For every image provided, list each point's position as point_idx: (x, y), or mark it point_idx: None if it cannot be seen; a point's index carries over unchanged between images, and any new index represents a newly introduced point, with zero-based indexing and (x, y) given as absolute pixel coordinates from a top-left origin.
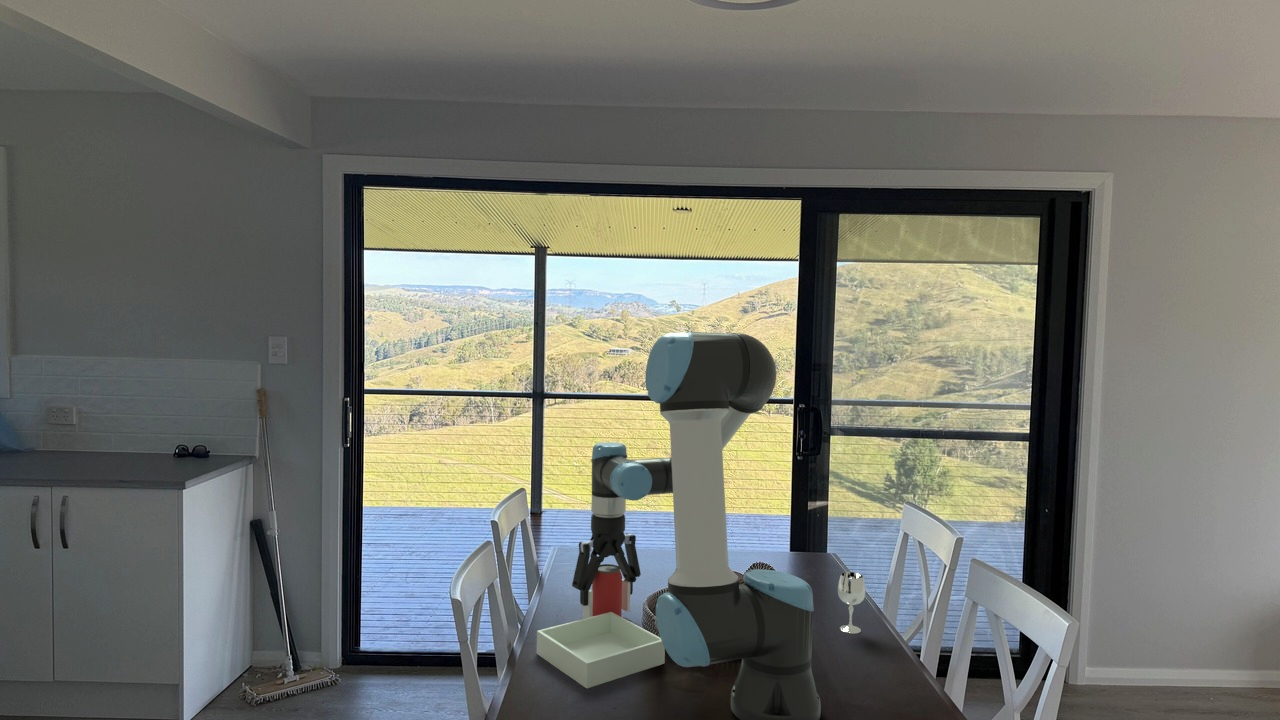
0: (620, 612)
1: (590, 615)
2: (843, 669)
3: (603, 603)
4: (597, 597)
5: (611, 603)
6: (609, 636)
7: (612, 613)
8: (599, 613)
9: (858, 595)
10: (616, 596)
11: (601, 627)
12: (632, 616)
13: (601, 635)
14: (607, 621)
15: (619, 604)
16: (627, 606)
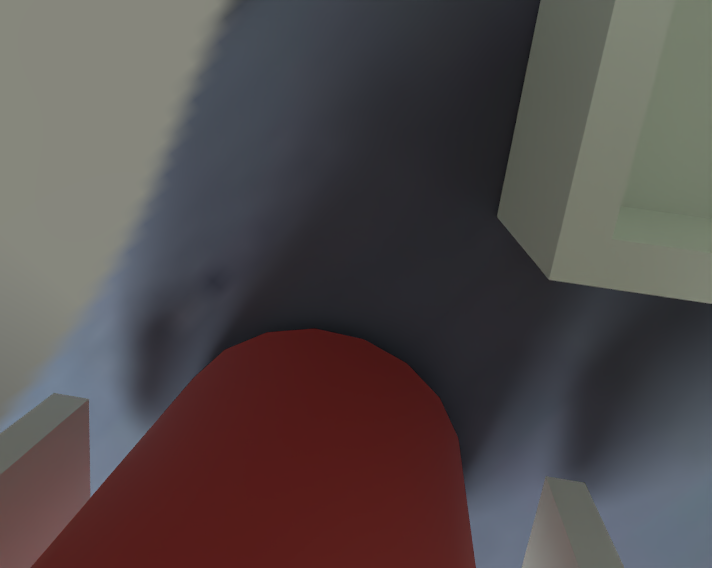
0: (213, 379)
1: (590, 526)
2: None
3: (453, 554)
4: None
5: (350, 476)
6: (648, 103)
7: (595, 211)
8: (464, 496)
9: None
10: (226, 523)
11: (705, 227)
12: (53, 370)
13: (690, 189)
14: (628, 226)
15: (205, 425)
16: (50, 429)
